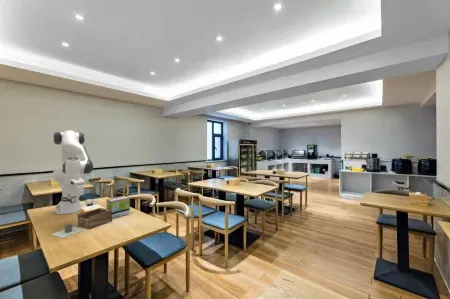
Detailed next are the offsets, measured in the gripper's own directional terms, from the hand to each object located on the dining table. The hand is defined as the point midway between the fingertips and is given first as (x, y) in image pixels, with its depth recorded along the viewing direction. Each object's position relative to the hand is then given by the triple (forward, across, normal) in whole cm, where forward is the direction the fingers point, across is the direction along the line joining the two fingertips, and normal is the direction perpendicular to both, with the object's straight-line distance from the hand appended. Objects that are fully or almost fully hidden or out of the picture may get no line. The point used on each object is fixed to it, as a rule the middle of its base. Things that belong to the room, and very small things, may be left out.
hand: (73, 200), depth 141 cm
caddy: (+21, +3, +14) cm, 25 cm away
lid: (+21, +3, -4) cm, 22 cm away
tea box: (+21, +2, +33) cm, 39 cm away
